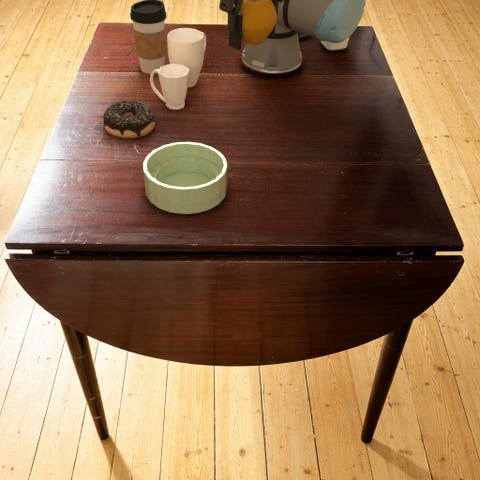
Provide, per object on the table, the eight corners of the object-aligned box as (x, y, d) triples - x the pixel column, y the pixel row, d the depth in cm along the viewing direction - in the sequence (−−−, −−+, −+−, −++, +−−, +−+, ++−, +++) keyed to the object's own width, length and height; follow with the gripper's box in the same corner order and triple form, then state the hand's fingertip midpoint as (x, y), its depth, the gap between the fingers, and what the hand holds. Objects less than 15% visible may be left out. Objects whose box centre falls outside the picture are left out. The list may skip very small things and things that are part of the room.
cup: (179, 115, 136) (177, 80, 130) (143, 103, 139) (140, 68, 133) (196, 102, 140) (196, 68, 134) (161, 91, 143) (158, 57, 138)
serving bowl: (189, 159, 124) (188, 133, 120) (243, 192, 117) (244, 165, 113) (129, 190, 117) (125, 163, 112) (182, 227, 109) (181, 200, 105)
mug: (192, 95, 143) (190, 45, 134) (162, 85, 145) (159, 37, 137) (218, 75, 150) (219, 27, 141) (190, 66, 152) (189, 19, 144)
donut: (101, 140, 128) (99, 123, 125) (107, 112, 136) (105, 95, 133) (154, 141, 129) (153, 123, 126) (157, 112, 137) (156, 95, 134)
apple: (226, 33, 124) (227, -14, 118) (269, 32, 126) (272, -15, 119) (234, 52, 118) (236, 3, 112) (279, 50, 120) (283, 2, 113)
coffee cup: (175, 71, 151) (172, 7, 140) (145, 79, 147) (139, 14, 136) (159, 58, 155) (154, -5, 144) (129, 65, 152) (122, 2, 141)
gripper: (229, -77, 98) (225, 62, 114) (316, -96, 109) (301, 33, 125) (198, -88, 102) (199, 49, 118) (285, -105, 113) (275, 22, 129)
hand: (252, 41), depth 122 cm, fingers closed on apple, 9 cm apart
